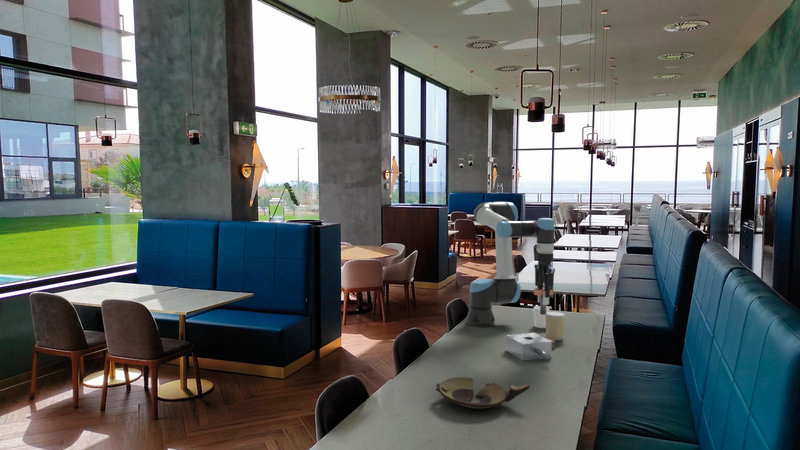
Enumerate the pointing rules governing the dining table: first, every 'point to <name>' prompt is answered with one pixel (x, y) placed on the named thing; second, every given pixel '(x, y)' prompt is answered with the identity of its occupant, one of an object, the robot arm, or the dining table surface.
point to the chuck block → (529, 346)
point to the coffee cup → (555, 325)
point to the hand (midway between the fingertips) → (543, 303)
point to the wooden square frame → (552, 342)
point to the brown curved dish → (462, 393)
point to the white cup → (539, 317)
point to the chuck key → (540, 293)
